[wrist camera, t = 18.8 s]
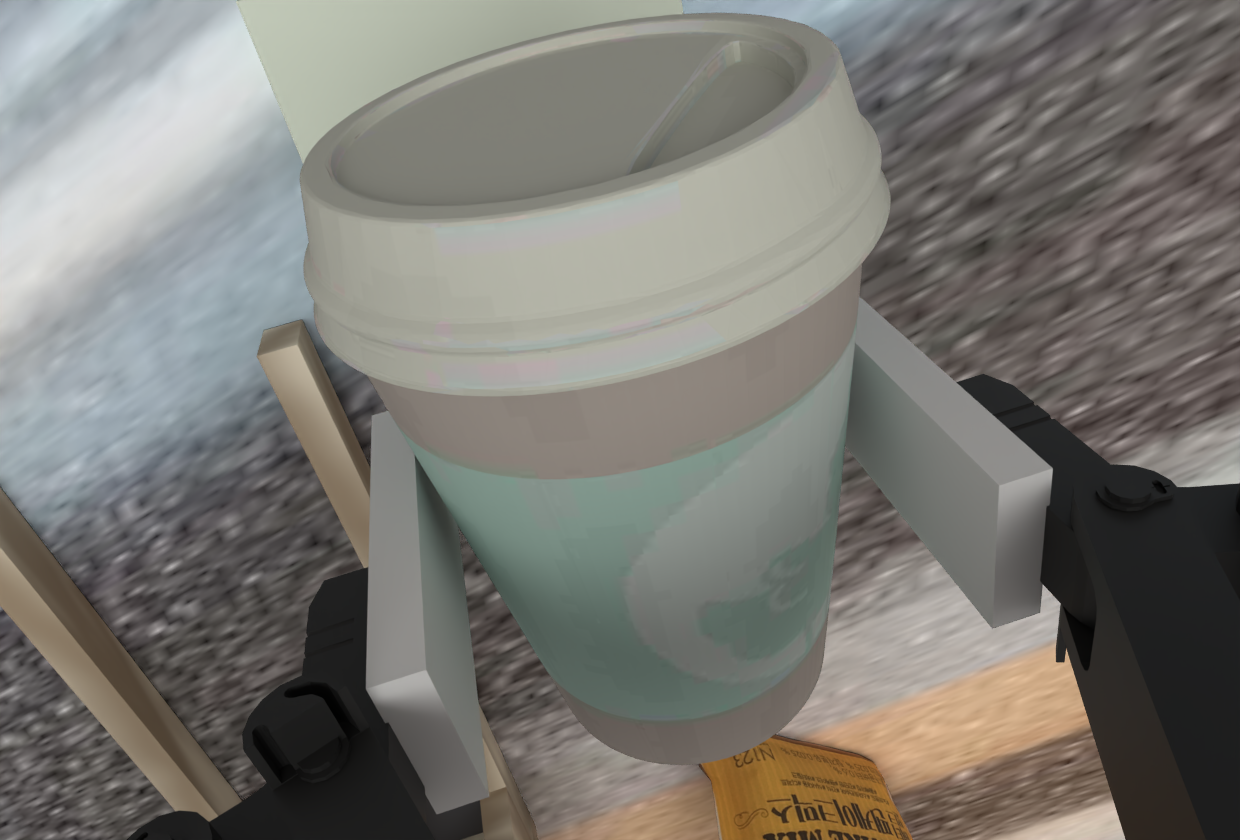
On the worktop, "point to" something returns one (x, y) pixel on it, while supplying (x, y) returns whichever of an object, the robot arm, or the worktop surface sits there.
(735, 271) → the coffee cup
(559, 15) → the pad
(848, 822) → the pancake mix bag
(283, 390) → the channel
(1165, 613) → the robot arm
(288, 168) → the worktop surface
